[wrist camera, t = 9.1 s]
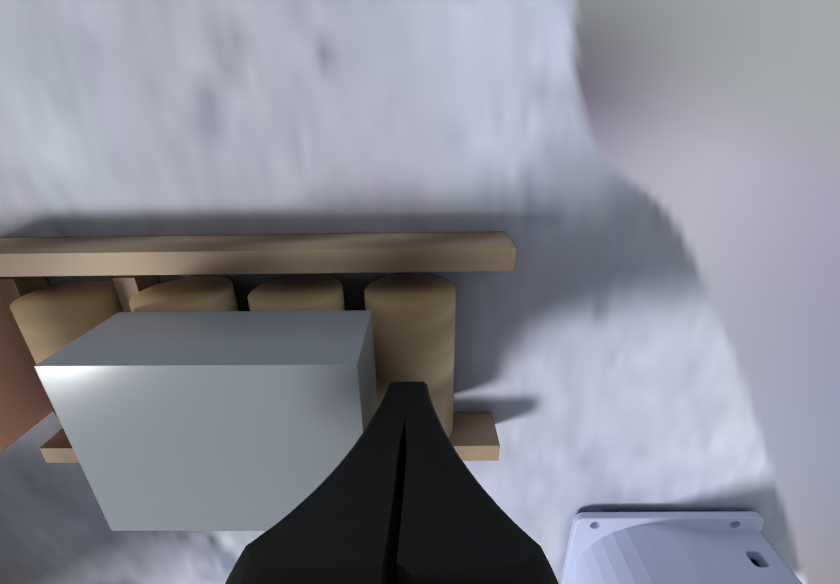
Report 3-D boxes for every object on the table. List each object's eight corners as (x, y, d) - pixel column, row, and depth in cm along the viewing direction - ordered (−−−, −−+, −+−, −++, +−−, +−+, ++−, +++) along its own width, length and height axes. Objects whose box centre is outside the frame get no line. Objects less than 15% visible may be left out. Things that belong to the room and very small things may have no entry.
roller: (54, 280, 16) (-17, 314, 13) (133, 277, 16) (81, 310, 13) (103, 403, 18) (53, 454, 15) (172, 399, 18) (135, 448, 16)
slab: (371, 310, 13) (357, 364, 10) (381, 454, 15) (371, 530, 12) (118, 312, 13) (34, 366, 10) (168, 455, 15) (111, 531, 12)
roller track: (504, 231, 15) (525, 259, 12) (491, 426, 18) (503, 484, 16) (-3, 237, 15) (-106, 267, 12) (83, 429, 19) (20, 487, 16)
